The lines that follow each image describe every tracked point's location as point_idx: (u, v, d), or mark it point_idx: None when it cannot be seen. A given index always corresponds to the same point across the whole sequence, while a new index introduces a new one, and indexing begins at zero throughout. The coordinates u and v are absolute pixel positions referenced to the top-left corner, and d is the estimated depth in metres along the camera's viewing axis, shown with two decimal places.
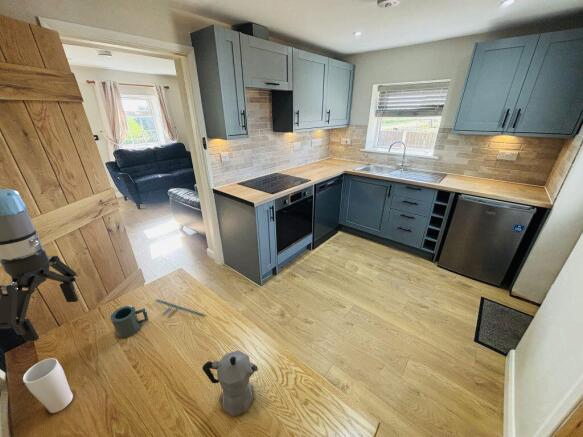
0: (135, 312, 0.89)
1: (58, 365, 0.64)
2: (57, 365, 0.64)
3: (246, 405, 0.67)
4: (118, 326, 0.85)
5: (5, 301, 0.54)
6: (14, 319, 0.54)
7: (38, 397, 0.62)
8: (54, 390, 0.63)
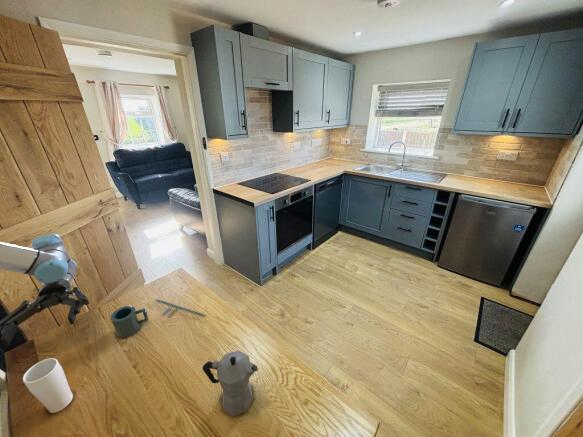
0: (135, 312, 0.89)
1: (58, 365, 0.64)
2: (57, 365, 0.64)
3: (246, 405, 0.67)
4: (118, 326, 0.85)
5: None
6: None
7: (38, 397, 0.62)
8: (54, 390, 0.63)
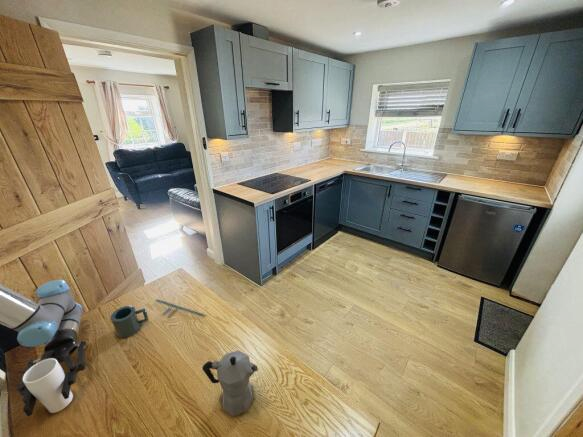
0: (135, 312, 0.89)
1: (58, 365, 0.64)
2: (57, 365, 0.64)
3: (246, 405, 0.67)
4: (118, 326, 0.85)
5: (84, 351, 0.75)
6: None
7: (38, 397, 0.62)
8: (54, 390, 0.63)
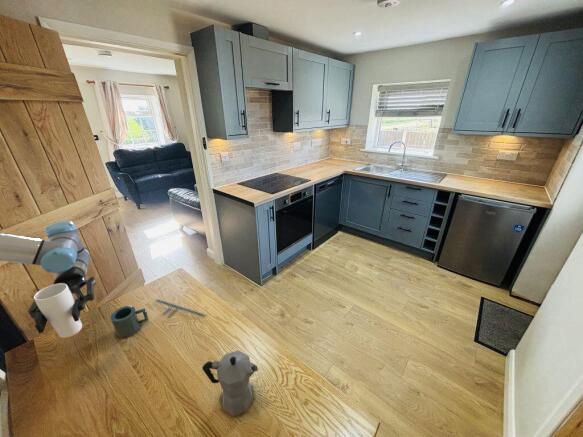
0: (135, 312, 0.89)
1: (68, 289, 0.65)
2: (67, 288, 0.65)
3: (246, 405, 0.67)
4: (118, 326, 0.85)
5: (92, 285, 0.76)
6: None
7: (49, 317, 0.63)
8: (64, 312, 0.64)
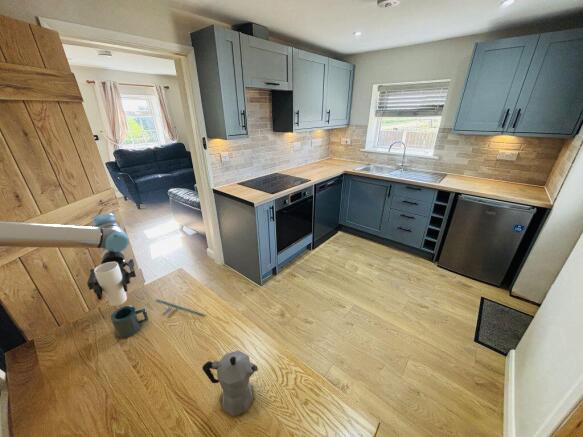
0: (135, 312, 0.89)
1: (118, 266, 0.81)
2: (118, 265, 0.81)
3: (246, 405, 0.67)
4: (118, 326, 0.85)
5: None
6: None
7: (105, 288, 0.79)
8: (116, 284, 0.80)
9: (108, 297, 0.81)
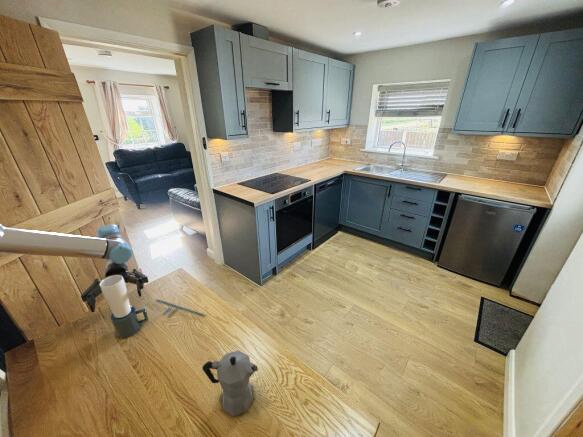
0: (135, 312, 0.89)
1: (123, 279, 0.84)
2: (123, 279, 0.83)
3: (246, 405, 0.67)
4: (118, 326, 0.85)
5: None
6: None
7: (110, 301, 0.81)
8: (121, 297, 0.83)
9: (113, 309, 0.83)
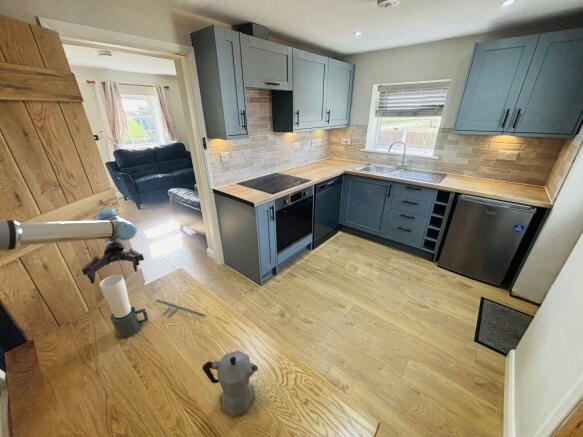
0: (135, 312, 0.89)
1: (123, 279, 0.84)
2: (123, 279, 0.83)
3: (246, 405, 0.67)
4: (118, 326, 0.85)
5: None
6: None
7: (110, 301, 0.81)
8: (121, 297, 0.83)
9: (113, 309, 0.83)
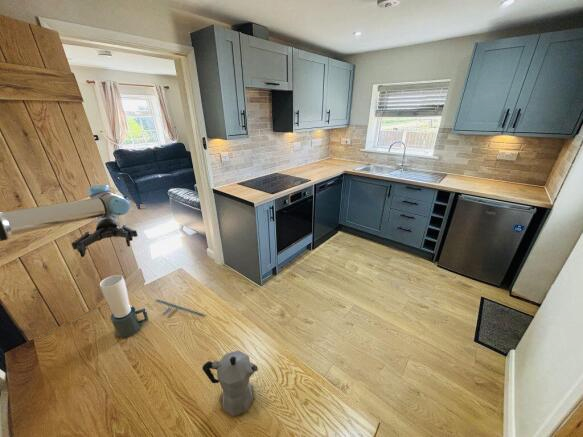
0: (135, 312, 0.89)
1: (123, 279, 0.84)
2: (123, 279, 0.83)
3: (246, 405, 0.67)
4: (118, 326, 0.85)
5: None
6: None
7: (110, 301, 0.81)
8: (121, 297, 0.83)
9: (113, 309, 0.83)
